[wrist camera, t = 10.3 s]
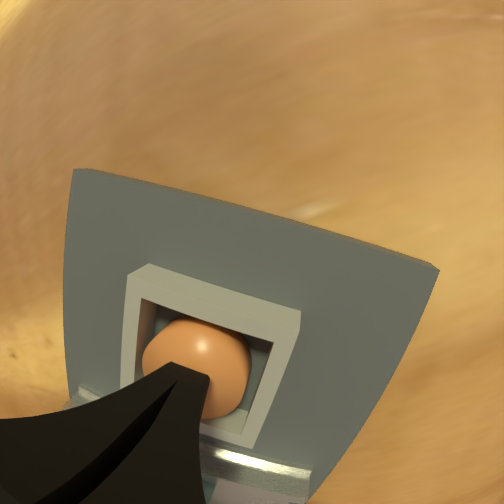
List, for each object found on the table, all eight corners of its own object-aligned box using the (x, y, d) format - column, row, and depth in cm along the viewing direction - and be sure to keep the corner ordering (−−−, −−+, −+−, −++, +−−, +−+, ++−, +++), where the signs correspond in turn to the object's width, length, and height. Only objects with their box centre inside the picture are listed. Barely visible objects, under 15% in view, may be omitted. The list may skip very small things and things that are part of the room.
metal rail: (264, 530, 14) (259, 551, 12) (93, 466, 15) (80, 483, 14) (312, 466, 12) (311, 495, 10) (81, 382, 13) (61, 401, 12)
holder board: (274, 528, 15) (272, 538, 14) (90, 460, 17) (83, 469, 16) (430, 262, 10) (440, 270, 9) (88, 168, 12) (73, 168, 11)
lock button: (239, 405, 11) (230, 430, 10) (155, 375, 12) (139, 396, 10) (263, 331, 11) (256, 353, 9) (166, 299, 11) (146, 315, 10)
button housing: (258, 424, 12) (252, 449, 10) (136, 380, 12) (120, 399, 11) (301, 311, 10) (299, 330, 9) (148, 263, 11) (127, 275, 10)
